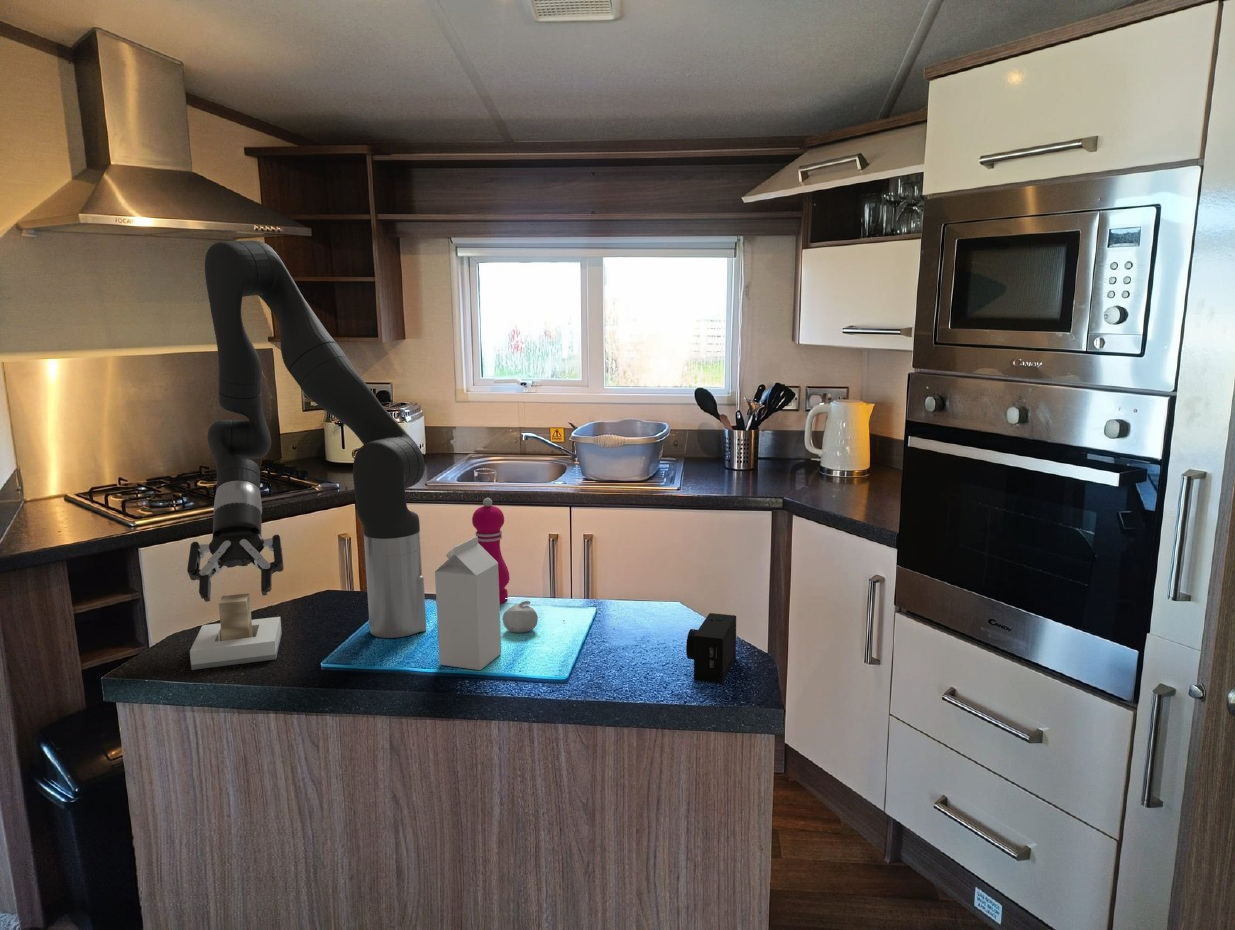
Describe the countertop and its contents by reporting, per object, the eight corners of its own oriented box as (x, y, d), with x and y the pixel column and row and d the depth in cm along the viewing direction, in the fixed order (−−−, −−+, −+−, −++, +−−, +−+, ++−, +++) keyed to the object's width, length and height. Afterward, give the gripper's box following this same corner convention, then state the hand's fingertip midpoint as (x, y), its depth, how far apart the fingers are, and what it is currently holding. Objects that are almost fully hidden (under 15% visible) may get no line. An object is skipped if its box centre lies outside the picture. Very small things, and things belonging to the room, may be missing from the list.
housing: (281, 633, 139) (280, 616, 138) (276, 659, 128) (274, 640, 127) (204, 642, 135) (202, 625, 135) (191, 669, 124) (189, 651, 123)
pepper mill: (502, 607, 151) (499, 502, 148) (466, 605, 152) (461, 501, 149) (515, 595, 158) (512, 494, 155) (480, 593, 159) (476, 493, 156)
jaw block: (253, 639, 134) (249, 593, 132) (250, 648, 130) (246, 600, 129) (226, 642, 132) (222, 596, 131) (223, 651, 129) (218, 603, 127)
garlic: (539, 624, 141) (538, 596, 141) (537, 636, 136) (536, 606, 135) (505, 625, 141) (504, 596, 141) (501, 636, 136) (500, 607, 135)
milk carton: (501, 654, 128) (497, 537, 125) (480, 671, 122) (475, 549, 119) (462, 649, 131) (457, 534, 128) (439, 665, 124) (433, 545, 121)
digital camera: (701, 653, 128) (702, 611, 127) (736, 657, 126) (736, 614, 125) (685, 679, 118) (685, 634, 117) (722, 684, 116) (722, 638, 115)
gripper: (187, 504, 135) (182, 590, 126) (279, 497, 139) (280, 580, 130) (196, 528, 141) (191, 612, 132) (284, 521, 145) (285, 601, 136)
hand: (235, 596), depth 131 cm, fingers open, 8 cm apart
